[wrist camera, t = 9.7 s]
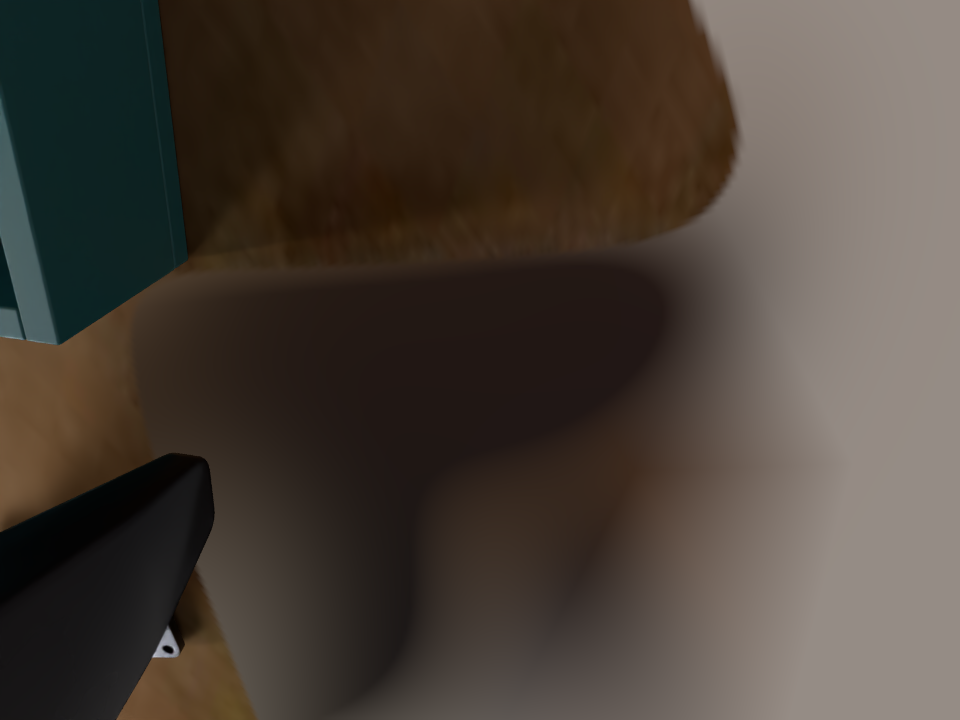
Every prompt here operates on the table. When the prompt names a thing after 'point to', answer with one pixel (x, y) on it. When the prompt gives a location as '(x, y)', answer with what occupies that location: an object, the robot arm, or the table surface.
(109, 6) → the cool box
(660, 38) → the table surface
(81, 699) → the robot arm
